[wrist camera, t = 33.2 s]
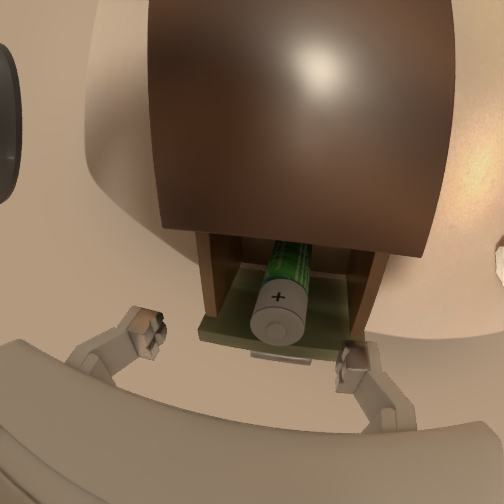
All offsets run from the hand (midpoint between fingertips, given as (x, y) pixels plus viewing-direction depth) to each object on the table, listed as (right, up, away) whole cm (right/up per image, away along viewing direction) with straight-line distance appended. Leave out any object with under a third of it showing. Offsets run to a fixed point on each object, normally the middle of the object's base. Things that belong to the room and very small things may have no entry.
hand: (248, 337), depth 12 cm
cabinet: (+4, +15, +5) cm, 16 cm away
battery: (+3, +5, +9) cm, 11 cm away
